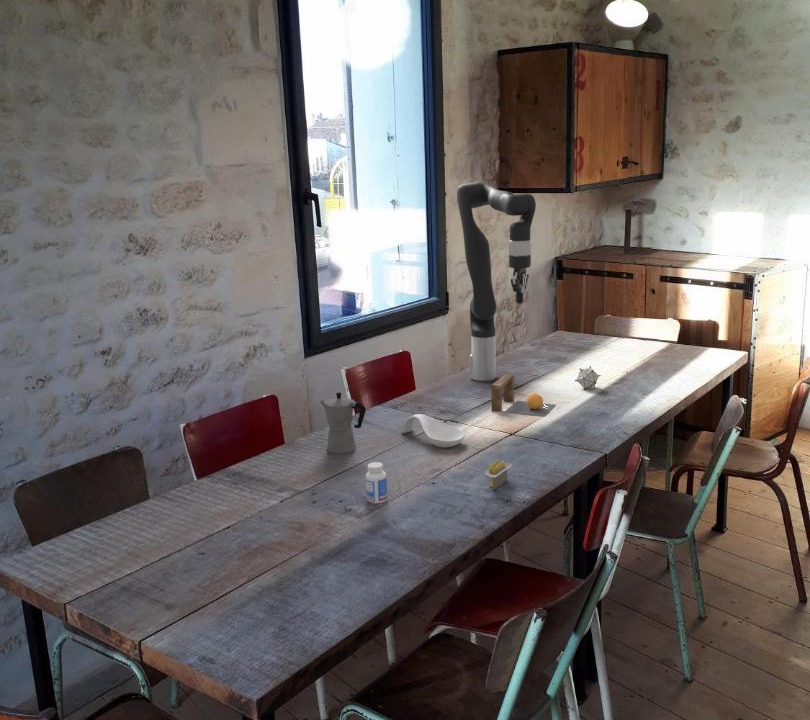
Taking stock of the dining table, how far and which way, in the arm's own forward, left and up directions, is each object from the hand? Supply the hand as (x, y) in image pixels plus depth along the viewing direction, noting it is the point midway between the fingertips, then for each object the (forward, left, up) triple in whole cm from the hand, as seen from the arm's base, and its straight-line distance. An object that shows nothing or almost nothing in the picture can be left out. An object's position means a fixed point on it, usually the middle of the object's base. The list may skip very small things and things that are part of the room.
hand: (519, 303), depth 297 cm
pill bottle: (-6, -98, -35) cm, 104 cm away
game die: (+19, +22, -35) cm, 46 cm away
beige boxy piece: (+19, -76, -36) cm, 87 cm away
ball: (+9, -9, -32) cm, 35 cm away
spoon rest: (-12, -50, -36) cm, 63 cm away
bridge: (-3, -9, -35) cm, 36 cm away
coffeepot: (-33, -68, -35) cm, 83 cm away
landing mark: (+7, -9, -35) cm, 37 cm away
